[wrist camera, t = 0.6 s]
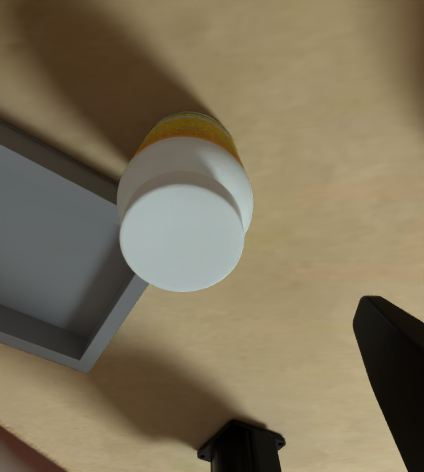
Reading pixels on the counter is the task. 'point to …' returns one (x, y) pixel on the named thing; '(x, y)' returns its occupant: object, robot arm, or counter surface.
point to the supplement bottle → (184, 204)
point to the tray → (59, 255)
